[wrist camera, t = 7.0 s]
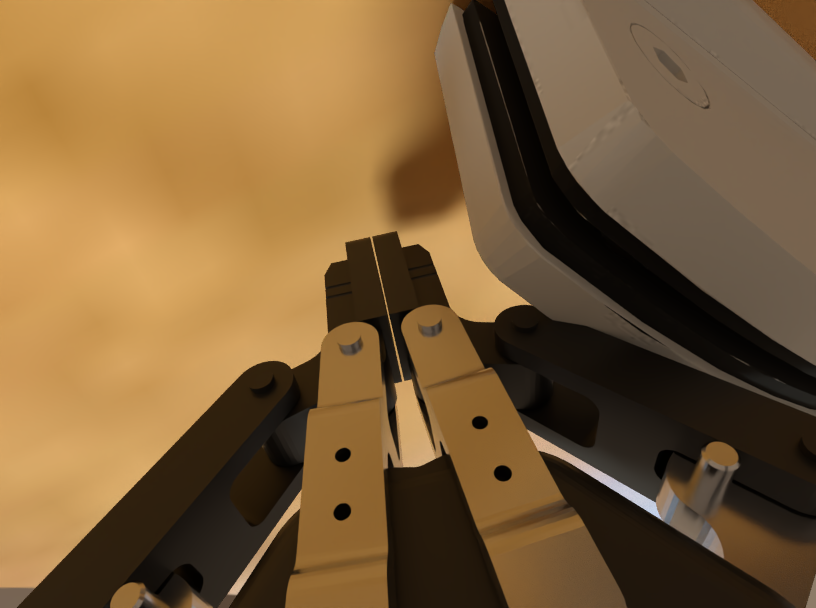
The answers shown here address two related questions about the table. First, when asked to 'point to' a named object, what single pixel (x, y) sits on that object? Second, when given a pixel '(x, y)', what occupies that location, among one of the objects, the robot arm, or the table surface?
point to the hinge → (646, 175)
